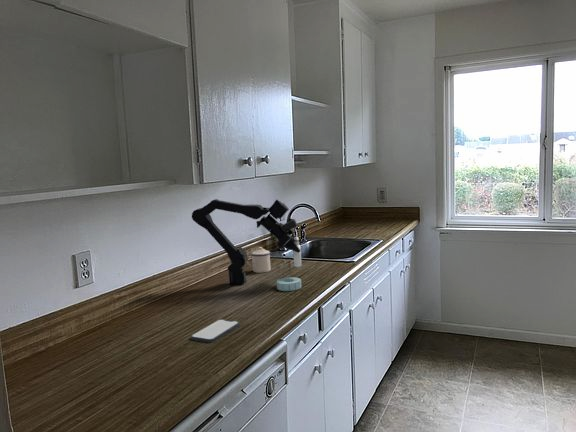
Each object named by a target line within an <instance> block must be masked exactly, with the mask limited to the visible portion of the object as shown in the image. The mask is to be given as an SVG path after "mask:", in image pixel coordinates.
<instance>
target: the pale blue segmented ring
mask: <svg viewBox="0 0 576 432" xmlns="http://www.w3.org/2000/svg"><path fill="white" fill-rule="evenodd" d="M301 288H302V279H301V278H299V277H293V276H292V277H291V276H290V277H282V278H279V279H277V280H276V290H279V291H282V292H291V291H296V290H300V289H301Z"/></svg>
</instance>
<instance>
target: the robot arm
mask: <svg viewBox="0 0 576 432" xmlns="http://www.w3.org/2000/svg"><path fill="white" fill-rule="evenodd" d="M215 210H220V211H225V212H230V213H236V214H240V215H243V216H245V217H247V218H250V219H253V220H256V228H257V229H259V228H260V227H263V228H264V230H266V231H268V232H269V233H270V236H273V237H275V239H276V241H277V242H276V245H277V247H278V248H279V249H282V248H283V249H287V250H290V251H292V252H293V251H296V252H300V249H299V248H298V247H297V245H296V244H295V243H294V237H295V234H294V232H295V231H294V229H295V228H297V227H298V223H297V221H296V219H295V218H292V217H289V218H288V219H286V222H285V223H282V222H279V221H277V220H278V219H279V220H281V219H282V218H283V217H284V215H285V214H286V213H287V212H288V211H289V207H288V206H287V205H286V204H285V203H283V202H282V201H280V200H279V199H276V200H274V201H273V204H272V205H271V206H270V207H263V206H262V205H261V204H241V203H238V202H237V203H235V202H230V201H225V200H220V199H217V198H216V199H212V200H210V202H209V203H207V204H206V205H204V206H203V207H199V208H197V209H195V210H193V211H192V213H191V219H192V220H193V222H195V223H196V224H197V225H198V226H200V227H202V228H203V229H205V230H206V231H207V232H208V233H209V234H210V236H211V237H212V238H213V239H214V240H215V241H216V242H217V244H218V245H219V246H220V247H221V248H222V249H223V250H224V251H225V252H226V254H227V256H228V258H229V261H230V262H231V264H229V265H228V267H227V270H228V281H229V283H228V284H227V285H229V286H242V285H244V284H245V283H246V282H247V277H246V275H247V274H246V271H245V268H244V266H245V265H246V264H247V260H248V261H249V259H248V257H249V256H248V252H246V250H244V248H243V247H242V246H239V247H236V246H235V244H233V243H232V242H231V240H230V239H229V238H228V237H227V236H226V234H225V233H223V231H221V229H220V228H219V227H218V226H217V225H216V224H215V222H214V221H213V217H212V216H211V213H213V212H214V211H215ZM266 215H267V216H266ZM258 219H260V220H258Z"/></svg>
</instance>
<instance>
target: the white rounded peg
mask: <svg viewBox="0 0 576 432" xmlns="http://www.w3.org/2000/svg"><path fill="white" fill-rule="evenodd" d="M299 242H300V239H299V237H297V236H296V237H295V236H294V243H295V244H296V245H297V247H298V248H299V249H300V252H296V251H293V250H292V253H293V265H294V266H293V267H295V268H297V267H298V268H299V267H302V251H301V250H302V248H301V245H300V243H299Z"/></svg>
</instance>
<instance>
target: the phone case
mask: <svg viewBox="0 0 576 432" xmlns="http://www.w3.org/2000/svg"><path fill="white" fill-rule="evenodd" d="M239 327H240V322H239V321H238V320H237V321H236V320H227V319H217V320H216V321H215V322H213V323H211V324H209V325H207V326H206V327H204V328H202V329H200V330H199V331H197V332H196V333H193V334H191V336H190V340H192V341H196V342H197V341H198V342H202V343H203V342H204V343H208V344H210V343H214V342H217V340H219V339H221V338H222V337H224V336H225V335H227V334H230V333H231V332H232V331H234V330H236V329H237V328H239Z"/></svg>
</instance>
